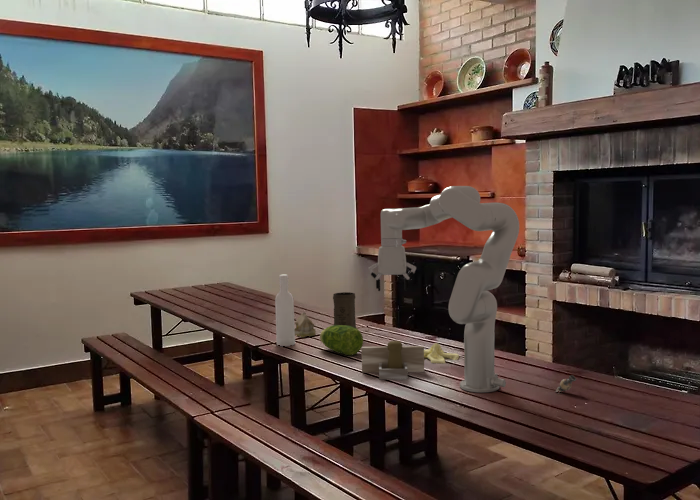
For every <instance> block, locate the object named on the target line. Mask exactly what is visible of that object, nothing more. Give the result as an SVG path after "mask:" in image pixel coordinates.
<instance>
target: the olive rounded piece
mask: <svg viewBox="0 0 700 500" xmlns="http://www.w3.org/2000/svg"><path fill="white" fill-rule="evenodd" d="M402 346H403V344H402V342H401V341H399V340H391V341H389V342H388V343H387V346H386V347H387V348H388V350H389V356H388V365H387V369H403V362H402V355H401V350H402Z"/></svg>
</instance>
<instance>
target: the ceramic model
mask: <svg viewBox="0 0 700 500" xmlns="http://www.w3.org/2000/svg"><path fill="white" fill-rule="evenodd" d="M294 325H295V327H294V328H295V335H297V336H296V337H298V336H301V337H300V338H306V337H305V336H309V337H313V336H315V335H317V334H316V329H315V328H314V327H315V323H314V322H313V321H312V319H310V318H309V317H308V315H307V313H306V312H304V311H303V312H302V313H300V315H299V316H298V317H297V318H296V321H294Z"/></svg>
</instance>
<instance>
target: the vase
mask: <svg viewBox="0 0 700 500" xmlns="http://www.w3.org/2000/svg"><path fill="white" fill-rule="evenodd" d="M573 382H577V378H576V377H575V376H574V375H573V374H570V375H569V376H568V378H563V379H561V381H560V382H559V386H558V387H557V388H556V389H555V392H558V391H559V392H562V391H564V392H565V391H567V390H568V391H569V390H570V389H571V388H572V387H573V384H572V383H573Z"/></svg>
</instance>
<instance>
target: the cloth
mask: <svg viewBox="0 0 700 500" xmlns="http://www.w3.org/2000/svg"><path fill="white" fill-rule="evenodd" d="M425 358H426V359H428V360H430V363H431V364H442V365H443V364H444V365H445V364H446V359H450V360H453V361H457V360H459V358H460V354H459V353H450V352H449V353H448V352H445V351H444V349H442V346H441V345H440V343H433V344H432V345H431V346H430V348H428V349H424V359H425Z"/></svg>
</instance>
